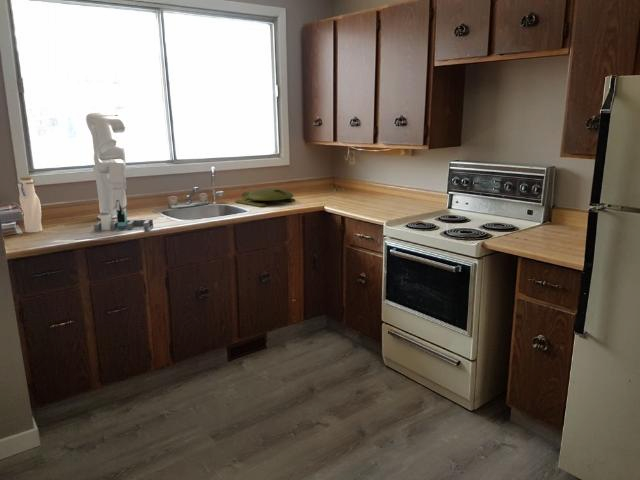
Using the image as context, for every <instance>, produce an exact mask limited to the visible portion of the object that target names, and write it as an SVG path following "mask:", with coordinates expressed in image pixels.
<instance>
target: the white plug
mask: <svg viewBox="0 0 640 480" xmlns="http://www.w3.org/2000/svg"><path fill="white" fill-rule="evenodd" d="M99 215H100V218H101V219H100V218H99V219H100V221H101V226H102V230H110V229H111V224H112V223H111V221H112V218H111V214H110V211H102V212H100V211H99Z"/></svg>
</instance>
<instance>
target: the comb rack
mask: <svg viewBox="0 0 640 480" xmlns="http://www.w3.org/2000/svg"><path fill="white" fill-rule="evenodd" d="M111 223H112V224H111V229H110V230H102V226H101V220H97V221H96V223H95V224H94V225H93V229H94V230H92V231H91V233H101V232H102V233H103V232H104V233H106V232H124V231H129V232H130V231H143V232H144V233H146V232H147V233H148V232H150V231H151V230H152V229H153V228H154V220H153V218H149V219H147V218H145V219H144V218H143V219H127V226H118V223H117V220H111Z"/></svg>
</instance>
